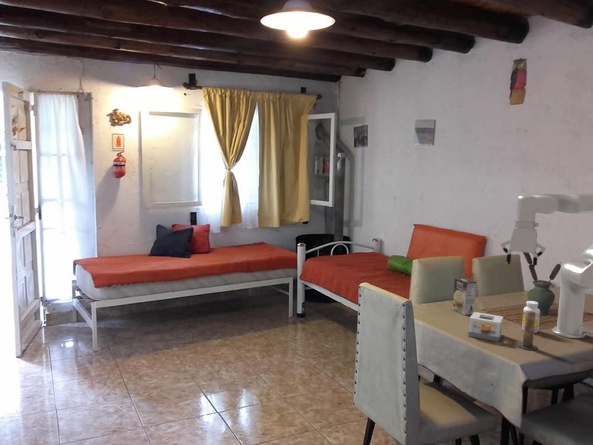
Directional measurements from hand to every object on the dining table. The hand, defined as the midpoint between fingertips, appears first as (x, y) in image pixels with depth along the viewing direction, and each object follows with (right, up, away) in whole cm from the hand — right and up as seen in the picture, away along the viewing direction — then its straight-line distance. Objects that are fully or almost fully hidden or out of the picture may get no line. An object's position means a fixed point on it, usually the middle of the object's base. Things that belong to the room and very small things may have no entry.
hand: (521, 265), depth 220 cm
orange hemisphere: (-15, -28, +1) cm, 31 cm away
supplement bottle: (+8, -30, +9) cm, 32 cm away
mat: (-2, -32, -11) cm, 34 cm away
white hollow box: (-15, -30, +1) cm, 33 cm away
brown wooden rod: (-2, -32, -11) cm, 34 cm away
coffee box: (-14, -26, +35) cm, 45 cm away
